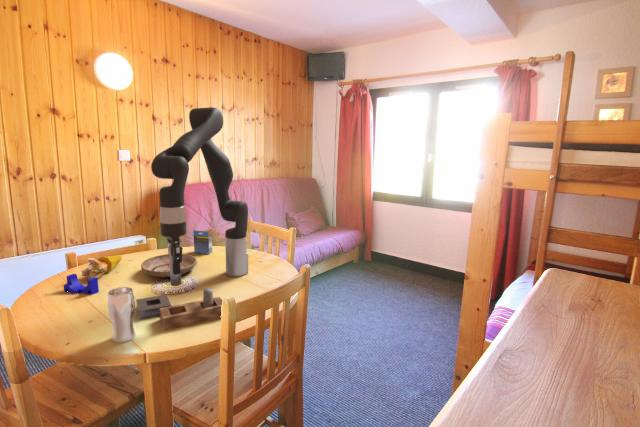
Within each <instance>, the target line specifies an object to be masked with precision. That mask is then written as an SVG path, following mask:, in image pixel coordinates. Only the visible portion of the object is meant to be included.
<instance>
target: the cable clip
mask: <svg viewBox="0 0 640 427" xmlns="http://www.w3.org/2000/svg"><path fill="white" fill-rule="evenodd" d="M98 279H99V278H96V277H94V278H91V279H87V285H84V284H83V283H81V281H80V280H79V279H78V274H77V273H72V274H69V275H67V276H66V284H63V291H65V292H64V293H68V292H70V293H69V294H73V293H76V294H75V295H77V293H78V294H80V293H81V294H86V295H91V296H92V295H95V294H97V293H99V292H100V290H99V280H98ZM67 291H68V292H67Z"/></svg>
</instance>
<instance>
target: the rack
mask: <svg viewBox="0 0 640 427" xmlns="http://www.w3.org/2000/svg"><path fill="white" fill-rule="evenodd" d="M222 301H223V299H222V298H221V296H216V297H214V289H213V288H210V287H209V288H204V289H203V290H202V299H200V300H195V301H191V302H185V303H180V304H173V305H171V306H169V307H164V308H160V316H159V319H160V323H161V326H162V329H163V331H168V330H171V329H176V328H181V327H186V326H190V325H194V324H198V323H202V322H208V321H211V319H212V320H216V318H217V319H220V316H221V305H222ZM207 320H208V321H207Z"/></svg>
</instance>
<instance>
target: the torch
mask: <svg viewBox="0 0 640 427" xmlns="http://www.w3.org/2000/svg"><path fill="white" fill-rule="evenodd" d="M86 260H87V262H89V263H88V264H87V265H86V268H84V269H83V270H81V271H80V272H81V276H82V277H87V280H89V279H91V278H94V277H96V278H98V279H99V278H101V277H102V276H103V275H104V273H107V274H109V273H110V272H111V271H112V270H113V269H114V268H115V267H116V266H117V265H118V264H119V263H120V262H121V261H122V260H123V258H122V255H120V254H115V255H108V256H102V257H99V259H98V258H97V259H96V258H94V257H89V258H87V259H86Z"/></svg>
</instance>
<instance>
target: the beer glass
mask: <svg viewBox="0 0 640 427" xmlns="http://www.w3.org/2000/svg"><path fill="white" fill-rule="evenodd" d="M135 302H136V300H135V295H134V289H133V287H131V286H130V287H129V286H121V287H120V286H119V287H116V288H112V289H110V290H109V291H108V292H107V309H108V311H107V312H108V315H109V318H110V320H111V324H112V328H113V332H112V333H113V334H112V341H113V342H114V343H117V344H122V343H127V342H130V341H132V340H133V339H135V337H136V332H135V328H134V317H135V306H136V303H135Z"/></svg>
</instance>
